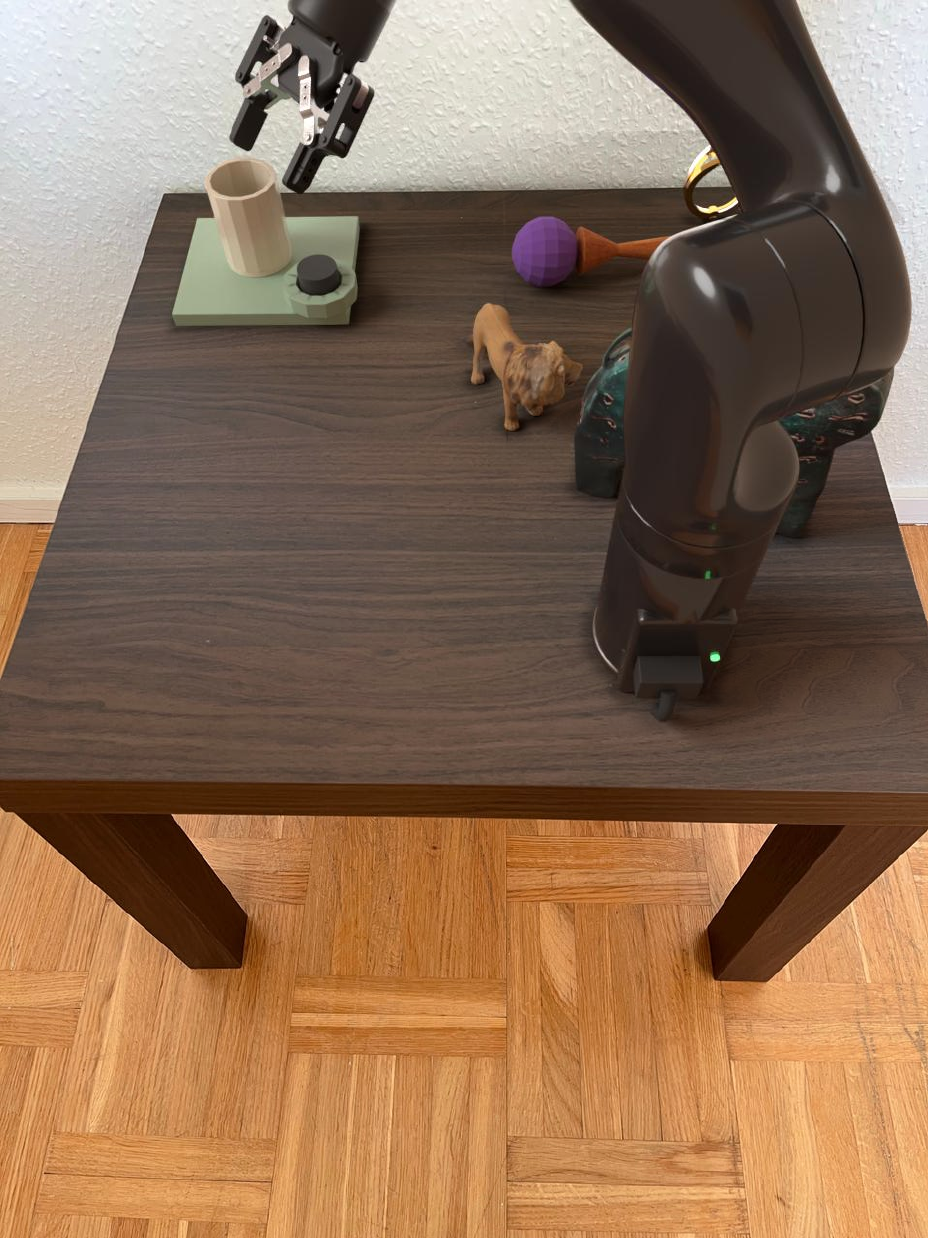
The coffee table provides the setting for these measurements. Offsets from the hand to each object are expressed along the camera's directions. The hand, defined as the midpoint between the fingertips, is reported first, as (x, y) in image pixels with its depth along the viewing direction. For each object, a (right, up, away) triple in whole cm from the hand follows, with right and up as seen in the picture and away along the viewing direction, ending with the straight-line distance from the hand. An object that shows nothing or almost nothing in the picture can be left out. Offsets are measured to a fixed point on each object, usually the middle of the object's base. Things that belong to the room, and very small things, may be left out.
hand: (264, 167), depth 81 cm
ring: (+42, 0, +10) cm, 43 cm away
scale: (-1, -7, +7) cm, 10 cm away
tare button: (+5, -10, +2) cm, 11 cm away
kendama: (+32, -7, +6) cm, 34 cm away
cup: (-2, -6, +6) cm, 8 cm away
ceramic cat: (+36, -31, -9) cm, 48 cm away
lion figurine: (+22, -21, -2) cm, 30 cm away
